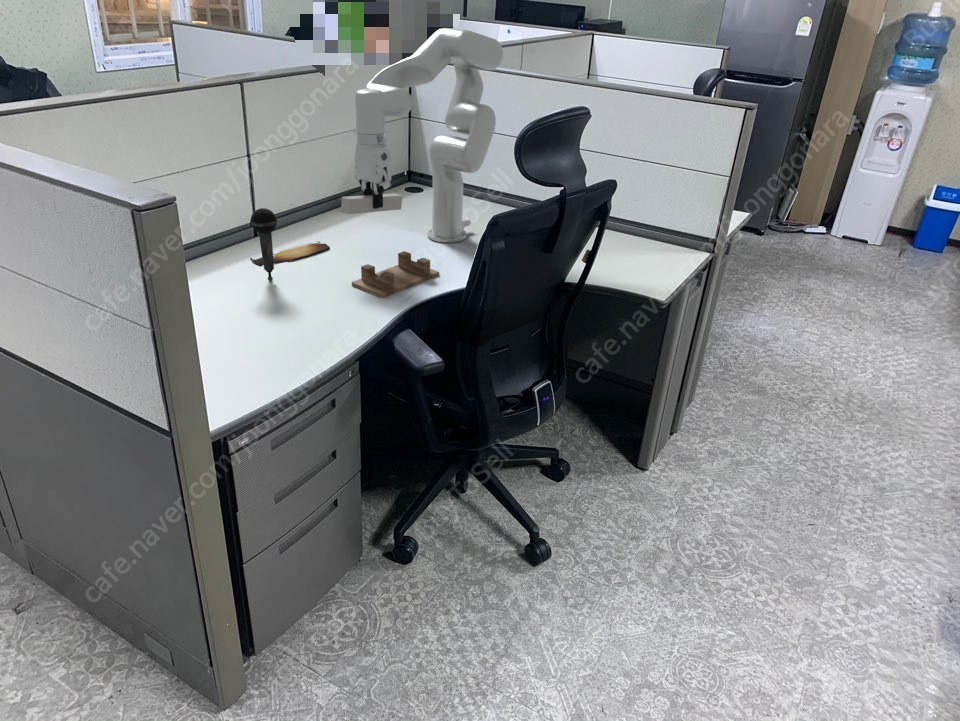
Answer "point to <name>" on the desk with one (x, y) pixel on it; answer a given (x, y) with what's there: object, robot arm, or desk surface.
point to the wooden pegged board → (395, 276)
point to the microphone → (265, 236)
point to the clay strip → (370, 203)
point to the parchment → (295, 253)
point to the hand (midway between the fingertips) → (373, 205)
